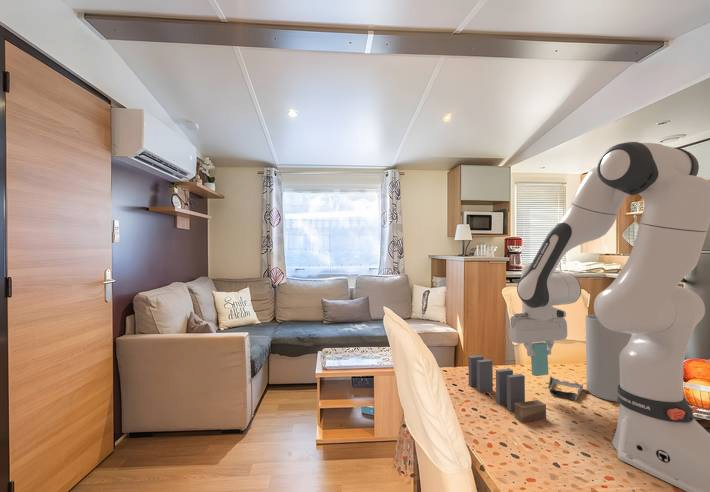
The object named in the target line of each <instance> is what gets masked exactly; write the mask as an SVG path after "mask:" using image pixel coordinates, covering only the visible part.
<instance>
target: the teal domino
mask: <svg viewBox="0 0 710 492" xmlns="http://www.w3.org/2000/svg"><path fill="white" fill-rule="evenodd" d="M531 348H532V350H534V351H535V356H531V357H530V360H531V365H530V366H531V375H532V376H535V377H543V376H547V375H548V376H549V362H548V361H549V360H548V359H549V358H548V356H549V355H548V354H547V343H545V341H542V342H532V346H531Z"/></svg>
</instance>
